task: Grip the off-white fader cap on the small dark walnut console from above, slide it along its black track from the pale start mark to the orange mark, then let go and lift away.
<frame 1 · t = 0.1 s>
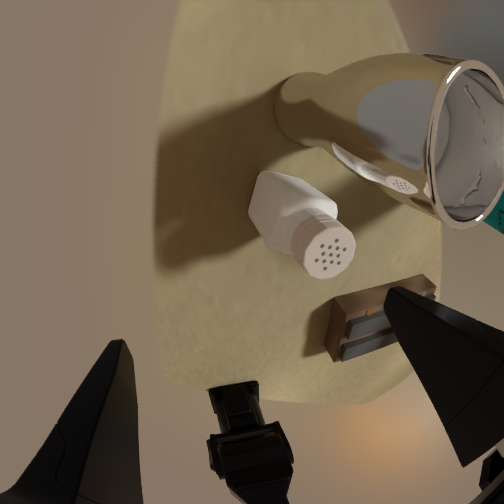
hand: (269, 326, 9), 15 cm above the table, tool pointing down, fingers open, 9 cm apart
metal cup: (310, 108, 20), on the table
console: (376, 309, 33), on the table
pepper shaker: (273, 195, 23), on the table
beverage can: (426, 160, 24), on the table
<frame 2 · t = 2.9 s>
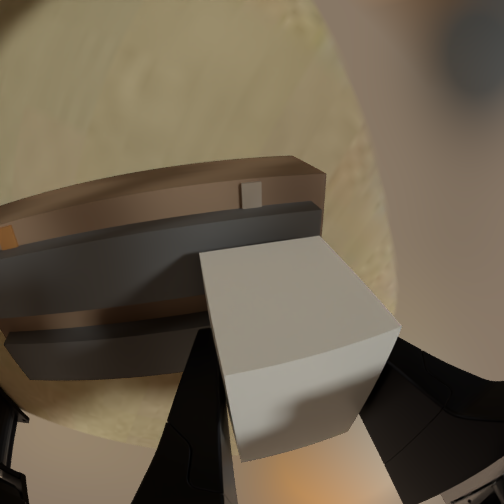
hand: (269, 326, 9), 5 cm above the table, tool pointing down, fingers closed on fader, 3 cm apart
fader: (276, 344, 8), point 6 cm above the table, slide at -4.5 cm, touching gripper
console: (138, 263, 12), on the table
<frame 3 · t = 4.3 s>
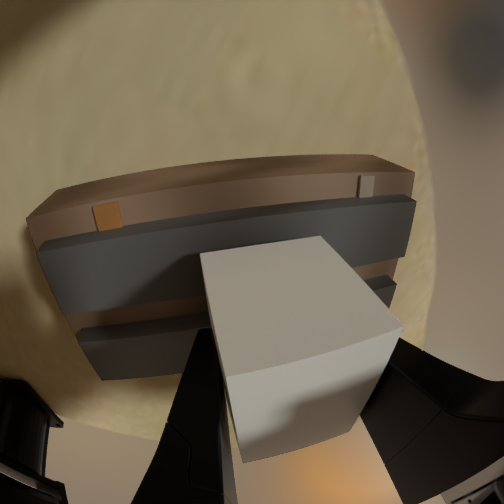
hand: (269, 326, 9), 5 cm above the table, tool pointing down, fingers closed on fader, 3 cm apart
fader: (278, 344, 8), point 6 cm above the table, slide at -0.3 cm, touching gripper
console: (229, 249, 13), on the table
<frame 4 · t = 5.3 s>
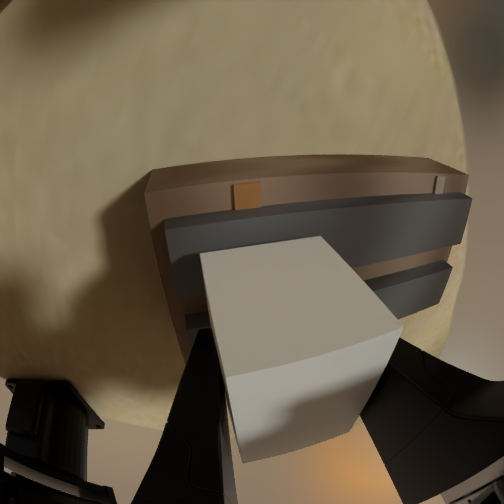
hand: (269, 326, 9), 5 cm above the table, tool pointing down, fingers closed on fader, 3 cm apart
fader: (277, 344, 8), point 6 cm above the table, slide at 3.9 cm, touching gripper
console: (316, 237, 14), on the table
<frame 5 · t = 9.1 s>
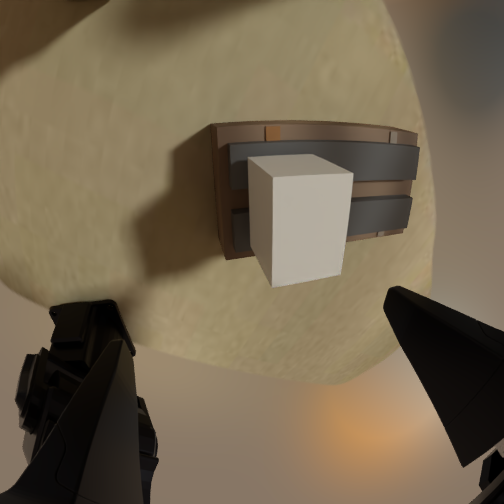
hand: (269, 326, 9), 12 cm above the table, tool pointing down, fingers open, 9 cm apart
fader: (291, 210, 14), point 6 cm above the table, slide at 4.0 cm
console: (313, 175, 20), on the table
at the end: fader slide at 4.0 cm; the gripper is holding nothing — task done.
